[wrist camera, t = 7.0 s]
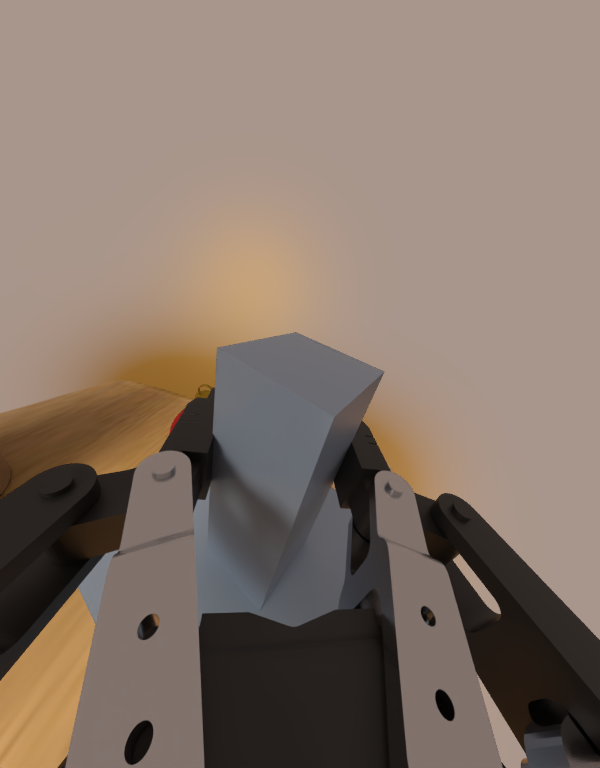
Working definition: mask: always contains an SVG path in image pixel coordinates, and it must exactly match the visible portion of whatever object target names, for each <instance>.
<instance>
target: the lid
mask: <svg viewBox="0 0 600 768" xmlns="http://www.w3.org/2000/svg"><path fill="white" fill-rule="evenodd" d="M383 374H384V371H382V370H379V369H377V368H375V367H373V366H370V365H368V364H366V363H364V362H362V361H359V360H357V359H355V358H353V357H350V356H348V355H346V354H343V353H341V352H339V351H337V350H334V349H332V348H330V347H328V346H326V345H323V344H321V343H319V342H317V341H314V340H312V339H310V338H308V337H305V336H303V335H301V334H299V333H296V332H295V333H290V334H286V335H280V336H275V337H270V338H265V339H259V340H255V341H250V342H244V343H239V344H234V345H229V346H224V347H218V348H217V359H216V379H215V398H214V418H213V434H214V443H213V461H212V479H211V484H210V487H209V490H208V494H207V497H206V500H197V503H196V506H195V509H194V512H193V523H194V536H195V558H196V581H197V605H198V627H199V626H200V622H201V617H202V613H233V612H250V613H253V614H256V615H259V616H262V617H265V618H267V619H270V620H273V621H276V622H279V623H282V624H285V625H288V626H291V627H296V626H299V625H302V624H304V623H306V622H309V621H311V620H313V619H315V618H318V617H320V616H322V615H324V614H327V613H329V612H331V611H333V610H338V605H339V599H340V595H341V591H342V588H343V585H344V580H345V571H346V555H347V538H348V523H349V520H350V518H351V516H352V514H351V510H350V509H344V508H340V505H339V501H338V497H337V493H336V490H334V489H333V488H332V487H331V486H332V484H333V482H334V479H335V477H336V475H337V472H338V470H339V468H340V466H341V464H342V462H343V459H344V457H345V455H346V453H347V451H348V449H349V446H350V444H351V442H352V441H353V438H354V436H355V434H356V432H357V430H358V428H359V426H360V423H361V421H362V419H363V417H364V415H365V413H366V410H367V408H368V406H369V404H370V402H371V400H372V397H373V395H374V393H375V391H376V389H377V387H378V384H379V382H380V380H381V378H382V376H383ZM118 551H119V550H116V551H113V552H109V553H106V554H105V555H104V556H103V557H102V559H101V560H100V561H99V562H98V563H97V565H96V566H95V567H94V568H93V569H92V571H91V572H90V573H89V574H88V575H87V577H86V578H85V579H84V580H83V582H82V583H81V584H80V585H79V586H78V588H79V590H80V592H81V594H82V596H83V598H84V601H85V603H86V605H87V607H88V609H89V611H90V613H91V615H92V617H93V620H94V622H95V624H96V621H97V616H98V612H99V607H100V602H101V598H102V593H103V588H104V584H105V579H106V575H107V571H108V567H109V564H110V561H111V559H112V557H113V556H114V554H117V553H118Z"/></svg>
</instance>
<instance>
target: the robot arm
mask: <svg viewBox="0 0 600 768" xmlns="http://www.w3.org/2000/svg"><path fill="white" fill-rule="evenodd" d="M214 398H215V388H212V389H211V391H210V394H209V396H208V398H200V397H197V398H195V399H194V400H193V401H191V402H190V403H188V404H187V406H186V408H185V409H184V411H183V413H182V414H181V416H180V418H179V419H178V422H177V423H176V424H175V426H174V428H173V429H172V431H171V433H170V434H169V436H168V438H167V439H166V441H165V443H164V445H163V446H162V448H161V450H160V451H159V453H155V454H153V455H151V456H149V457H147V458H146V459H145V460H143V461H142V462H141V463H140V464H139V465H138V467H137V468H134V469H130V470H126V471H120V472H114V473H108V474H102V475H97V474H96V471H95V470H94V469H93V468H92V467H91V466H89V465H86V464H79V463H74V464H65V465H61V466H57V467H54V468H51V469H49V470H46V471H44V472H42V473H40V474H38V475H36V476H35V477H33V478H32V479H30V480H29V481H27V482H26V483H24V484H23V485H21V486H20V487H18V488H17V489H15V490H14V491H12V492H11V493H9V494H8V495H7V496H5V497H4V498H2V499H1V500H0V680H1V679H2V678H3V677H4V676H5V674H6V673H7V672H8V671H9V670H10V668H11V667H12V666H13V665H14V664H15V662H16V661H17V660H18V659H19V658H20V656H21V655H22V654H23V653H24V652H25V650H26V649H27V648H28V647H29V645H30V644H31V643H32V642H33V641H34V639H35V638H36V637H37V636H38V635H39V633H40V632H41V631H42V630H43V629H44V627H45V626H46V625H47V624H48V623H49V621H50V620H51V619H52V618H53V617H54V615H55V614H56V613H57V612H58V610H59V609H60V608H61V607H62V606H63V604H64V603H65V602H66V601H67V600H68V598H69V597H70V596H71V595H72V594H73V592H74V591H75V590H76V589H77V588H78V586H79V585H80V584H81V583H82V582H83V580H84V579H85V578H86V577H87V575H88V574H89V573H90V572H91V571H92V569H93V568H94V567H95V566H96V565H97V563H98V562H99V561H100V560H101V559H102V557H103V556H104V555H105V554H106V553H109V552H113V551H116V550H119V551H118V553H117V554H114V556H113V557H112V559H111V561H110V564H109V567H108V571H107V575H106V579H105V584H104V588H103V593H102V598H101V602H100V607H99V612H98V616H97V621H96V626H95V630H94V635H93V640H92V644H91V649H90V654H89V659H88V663H87V668H86V673H85V677H84V682H83V687H82V691H81V696H80V701H79V705H78V710H77V715H76V719H75V724H74V729H73V733H72V738H71V743H70V747H69V752H68V755H67V757H66V758H65V759H64V760H63V762H62V763H61V764H60V765H59V767H58V768H506V767H505V766H504V765H503V763H502V762H501V760H500V756H499V753H498V749H497V746H496V742H495V738H494V735H493V731H492V728H491V724H490V721H489V717H488V713H487V710H486V707H485V703H484V699H483V696H482V692H481V688H480V685H479V682H478V678H477V674H478V676H479V678H480V679H481V681H482V683H483V684H484V686H485V687H486V689H487V691H488V692H489V694H490V696H491V697H492V699H493V701H494V702H495V704H496V706H497V707H498V709H499V710H500V712H501V713H502V715H503V717H504V719H505V720H506V722H507V724H508V725H509V727H510V728H511V730H512V732H513V733H514V735H515V737H516V738H517V740H518V742H519V743H520V745H521V747H522V748H523V750H524V751H525V753H526V756H527V759H523V760H522V761H521V768H600V640H599V639H598V638H597V637H596V636H595V635H594V634H593V633H592V632H591V631H590V630H589V629H588V627H586V625H585V624H584V623H583V622H582V621H581V620H580V619H579V618H578V617H577V616H576V615H575V614H574V613H573V612H572V611H571V610H570V609H569V608H568V607H567V606H566V605H565V604H564V602H563V601H562V600H561V599H560V598H559V597H558V596H557V595H556V594H555V593H554V592H553V591H552V590H551V589H550V588H549V587H548V586H547V585H546V584H545V583H544V582H543V581H542V580H541V578H539V576H538V575H537V574H536V573H535V572H534V571H533V570H532V569H531V568H530V567H529V566H528V565H527V564H526V563H525V562H524V561H523V560H522V559H521V558H520V557H519V555H518V554H517V553H515V551H514V550H513V549H512V548H511V547H510V546H509V545H508V544H507V543H506V542H505V541H504V540H503V539H502V538H501V537H500V536H499V535H498V534H497V533H496V531H495V530H494V529H493V528H492V527H491V526H490V525H489V524H488V523H487V522H486V521H485V520H484V519H483V518H482V517H481V516H480V515H479V514H478V513H477V512H476V511H475V510H474V509H473V508H472V507H471V506H470V505H469V504H468V503H467V502H465V501H464V500H462V499H461V498H459V497H457V496H455V495H453V494H448V493H444V494H441V495H440V496H439V497H438V499H437V500H436V501H434V500H432V499H429V498H426V497H424V496H421V495H419V494H416V493H414V491H413V489H412V488H411V486H410V485H409V484H408V482H406V480H404V479H403V478H402V477H401V476H399V475H397V474H396V473H393V472H391V471H390V469H389V467H388V465H387V463H386V461H385V459H384V457H383V455H382V453H381V451H380V449H379V447H378V445H377V443H376V441H375V439H374V438H373V435H372V433H371V431H370V429H369V428H368V426H367V425H366V424H365V423H364V422H363V421H361V423H360V426H359V428H358V430H357V432H356V434H355V436H354V438H353V441H352V442H351V444H350V446H349V449H348V451H347V453H346V455H345V457H344V459H343V462H342V464H341V466H340V468H339V470H338V472H337V475H336V477H335V479H334V484H335V488H336V493H337V497H338V501H339V505H340V508H344V509H350V510H351V514H352V516H351V518H350V520H349V523H348V538H347V555H346V571H345V580H344V585H343V588H342V591H341V595H340V599H339V605H338V610H333V611H331V612H329V613H327V614H324V615H322V616H320V617H318V618H315V619H313V620H311V621H309V622H306V623H304V624H302V625H299V626H296V627H291V626H288V625H285V624H282V623H279V622H276V621H273V620H270V619H267V618H265V617H262V616H259V615H256V614H253V613H250V612H233V613H202V617H201V622H200V626H199V627H198V605H197V581H196V558H195V536H194V523H193V512H194V509H195V506H196V503H197V500H206V497H207V494H208V490H209V487H210V484H211V479H212V461H213V443H214V434H213V418H214ZM10 475H11V471H10V468H9V466H8V464H7V463H6V461H5V459H4V458H3V456H2V454H1V453H0V495H1V494H2V492H3V491H4V490H5V489H6V487H7V485H8V483H9V480H10ZM459 554H460V555H461V556H462V557H463V559H464V560H465V561H466V562H467V564H468V565H469V566H470V568H471V569H472V570H473V571H474V573H475V574H476V575H477V576H478V578H479V579H480V580H481V581H482V583H483V584H484V585H485V587H486V588H487V589H488V591H489V592H490V593H491V594H492V596H493V597H494V598H495V600H496V601H497V603H498V605H499V607H500V611H501V614H497V613H495V612H493V611H492V610H491V609H489V608H488V607H487V606H486V604H485V603H484V602H483V600H482V599H481V598H480V597H479V595H478V594H477V592H476V591H475V590H474V588H473V587H472V586H471V584H470V583H469V582H468V580H467V579H466V578H465V576H464V575H463V574H462V572H461V571H460V569H459V568H458V567H457V566H456V564H455V563H454V561H453V559H454V558H455V557H456V556H457V555H459ZM476 673H477V674H476Z"/></svg>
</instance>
